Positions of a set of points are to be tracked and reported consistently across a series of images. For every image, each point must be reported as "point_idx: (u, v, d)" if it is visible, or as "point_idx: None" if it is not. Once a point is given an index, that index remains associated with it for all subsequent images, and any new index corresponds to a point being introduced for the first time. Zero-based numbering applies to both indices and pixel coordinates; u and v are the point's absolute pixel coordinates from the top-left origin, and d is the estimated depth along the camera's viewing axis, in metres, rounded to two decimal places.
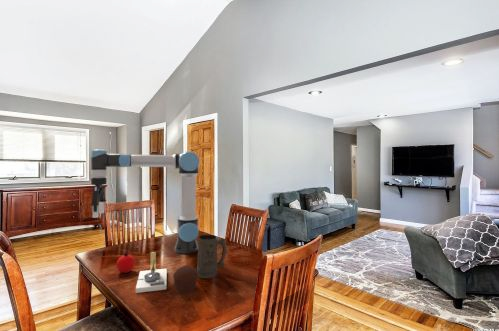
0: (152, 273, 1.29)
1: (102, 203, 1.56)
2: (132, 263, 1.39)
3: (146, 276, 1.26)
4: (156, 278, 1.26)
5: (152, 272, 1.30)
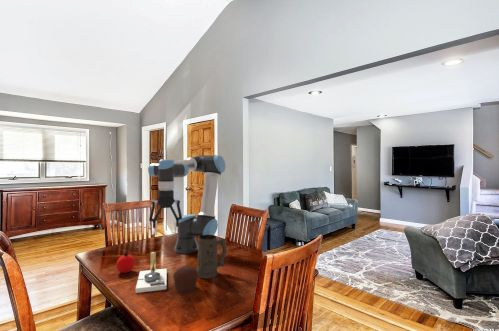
0: (152, 273, 1.29)
1: (174, 222, 1.38)
2: (132, 263, 1.39)
3: (146, 276, 1.26)
4: (156, 278, 1.26)
5: (152, 272, 1.30)
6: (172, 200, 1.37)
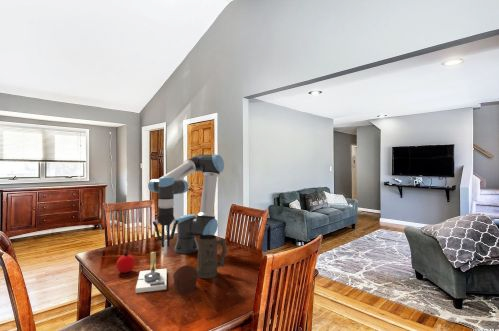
0: (152, 273, 1.29)
1: None
2: (132, 263, 1.39)
3: (146, 276, 1.26)
4: (156, 278, 1.26)
5: (152, 272, 1.30)
6: (172, 217, 1.37)
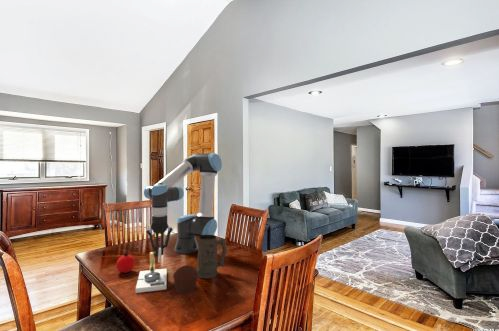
0: (152, 273, 1.29)
1: None
2: (132, 263, 1.39)
3: (146, 276, 1.26)
4: (156, 278, 1.26)
5: (152, 272, 1.30)
6: (166, 226, 1.36)
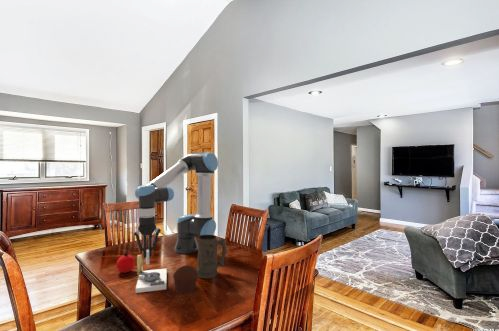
0: (150, 274, 1.28)
1: None
2: (132, 263, 1.39)
3: (149, 277, 1.25)
4: (159, 276, 1.29)
5: (147, 273, 1.29)
6: (154, 227, 1.34)
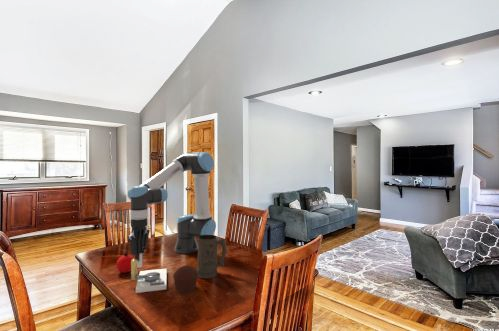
0: (149, 275, 1.27)
1: None
2: None
3: (154, 277, 1.26)
4: None
5: (146, 275, 1.27)
6: (145, 228, 1.32)
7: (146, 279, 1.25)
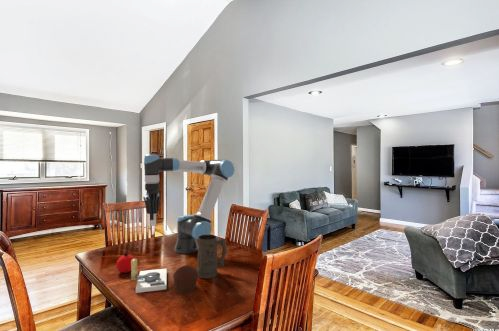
0: (149, 275, 1.27)
1: None
2: None
3: (154, 277, 1.26)
4: None
5: (146, 275, 1.27)
6: (157, 192, 1.50)
7: (146, 279, 1.25)
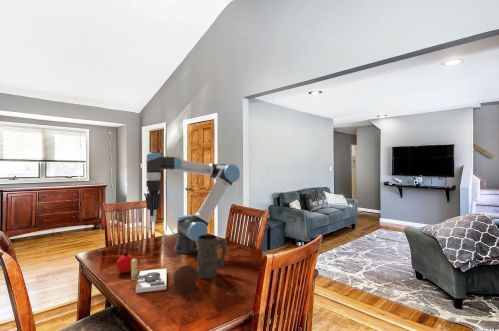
0: (149, 275, 1.27)
1: None
2: None
3: (154, 277, 1.26)
4: None
5: (146, 275, 1.27)
6: (158, 189, 1.55)
7: (146, 279, 1.25)
